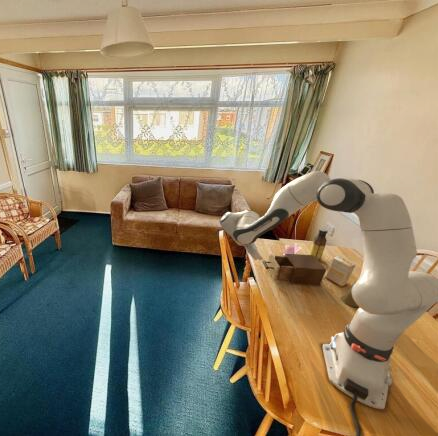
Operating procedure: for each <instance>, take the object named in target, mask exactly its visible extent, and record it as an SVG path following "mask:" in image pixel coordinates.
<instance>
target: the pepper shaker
mask: <svg viewBox="0 0 438 436" xmlns="http://www.w3.org/2000/svg"><path fill="white" fill-rule="evenodd" d="M356 282H357V281H354V282H352V283H351V284H350V289H349V290H348V291H347V292H346V293H345V295H344V296H343V297H342V301H343V302H344V303H345V304H347V305H348V306H351V307H353V308H354V307H355V308H357V307H358V308H359V306H358V305H357V304H356V303H355V301H354V299H353V297H352V293H351V291H352V287H353V286H354V284H355V283H356Z"/></svg>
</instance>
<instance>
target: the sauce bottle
mask: <svg viewBox="0 0 438 436" xmlns="http://www.w3.org/2000/svg"><path fill="white" fill-rule="evenodd" d="M327 234H328V229H327V228H322V227H320V228H319V229H318V233H317V235H316V236H315V237H314V238H313V240H312V244H311V247H310V250H309V254H308V255H314V257H315V258H316V259H317V260H318V261H320V260H321V259H322V257H323V254H324V251H325V247H326V244H327V242H328V240H327V238H326V237H327Z"/></svg>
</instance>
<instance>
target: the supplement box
mask: <svg viewBox="0 0 438 436" xmlns="http://www.w3.org/2000/svg"><path fill="white" fill-rule="evenodd" d="M356 265H357V264H356V263H354V262H352V261H350V260H348V259H346V258H344V257H343V256H340V255H338V256H337V255H336V256H335V257H333V258H332V260H331V263H330V265H329V268H328V270H327V272H326V274H325V278H326V279H327V280H329V281H331V282H333V283H334V284H336V285H338V286H339V287H344V286H346V285H347V284H348V282H349V280H350V278H351V276H352V273H353V271H354V269H355V267H356Z"/></svg>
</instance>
